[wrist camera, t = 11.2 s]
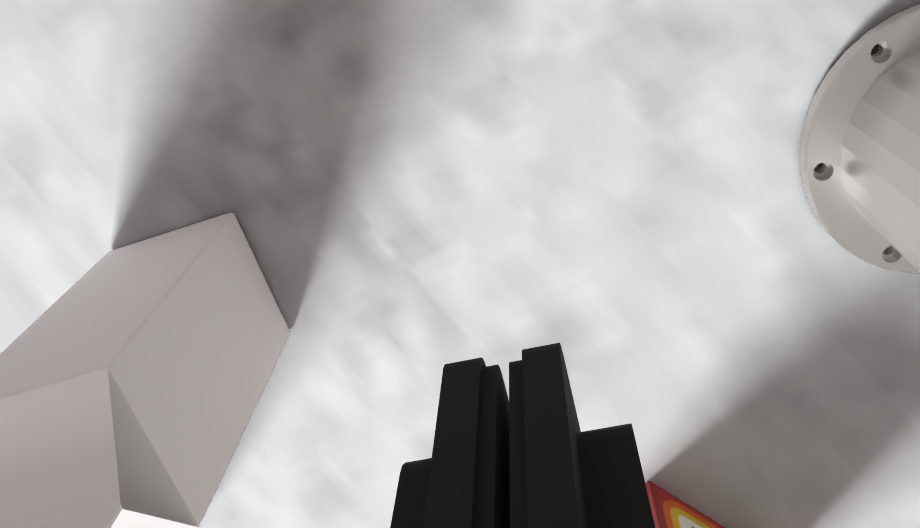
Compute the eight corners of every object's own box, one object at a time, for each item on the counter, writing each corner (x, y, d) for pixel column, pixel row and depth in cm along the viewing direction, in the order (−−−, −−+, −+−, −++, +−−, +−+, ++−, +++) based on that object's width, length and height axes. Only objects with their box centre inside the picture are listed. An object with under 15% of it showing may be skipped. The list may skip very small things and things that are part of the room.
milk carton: (108, 250, 44) (-153, 494, 27) (235, 209, 43) (48, 437, 25) (171, 367, 46) (-28, 659, 29) (293, 331, 45) (160, 614, 28)
